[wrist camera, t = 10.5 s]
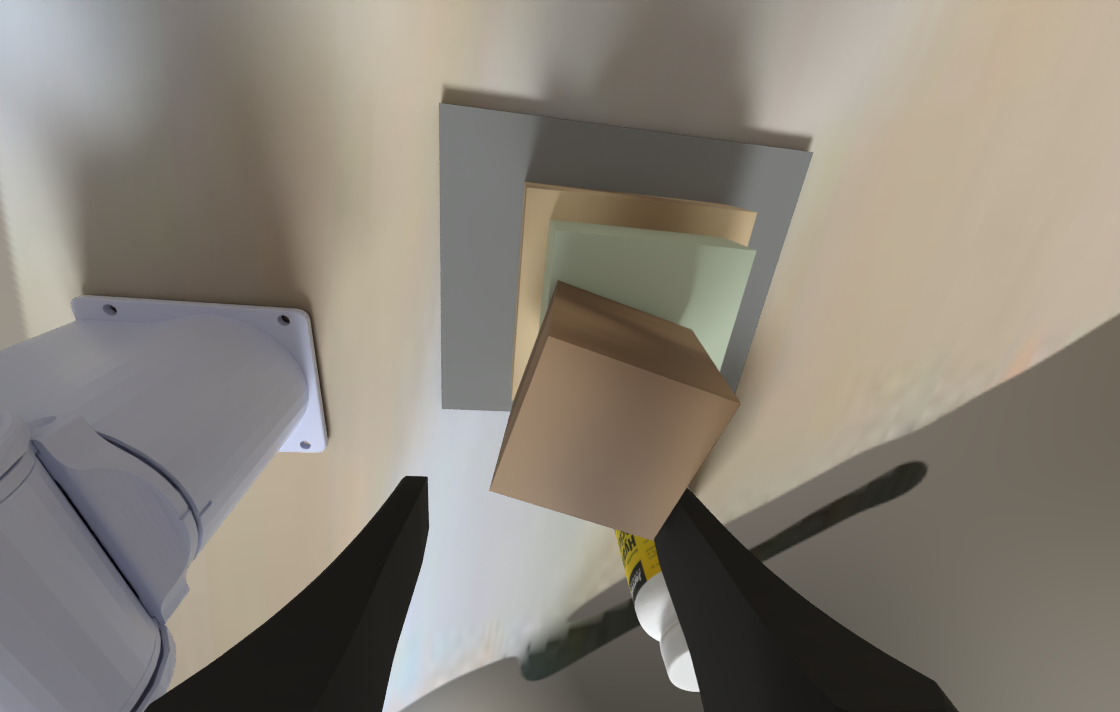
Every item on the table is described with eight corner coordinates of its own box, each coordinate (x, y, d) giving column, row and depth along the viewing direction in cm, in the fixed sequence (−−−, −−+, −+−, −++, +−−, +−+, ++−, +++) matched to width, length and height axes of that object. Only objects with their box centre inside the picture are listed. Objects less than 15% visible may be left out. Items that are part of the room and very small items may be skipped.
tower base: (511, 370, 22) (511, 400, 19) (524, 181, 18) (526, 187, 16) (678, 378, 23) (700, 408, 21) (723, 203, 19) (757, 212, 17)
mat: (443, 403, 23) (441, 408, 23) (441, 104, 17) (439, 102, 17) (722, 414, 25) (726, 419, 25) (806, 152, 19) (813, 152, 19)
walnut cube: (514, 399, 17) (489, 490, 12) (558, 280, 15) (548, 335, 10) (633, 439, 17) (652, 540, 13) (692, 329, 15) (740, 403, 11)
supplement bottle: (602, 482, 27) (647, 646, 18) (687, 462, 27) (774, 616, 18) (615, 541, 29) (660, 711, 20) (693, 523, 29) (772, 685, 20)
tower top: (533, 382, 19) (536, 413, 17) (549, 219, 16) (555, 230, 14) (683, 389, 20) (704, 420, 18) (724, 237, 17) (756, 250, 15)
